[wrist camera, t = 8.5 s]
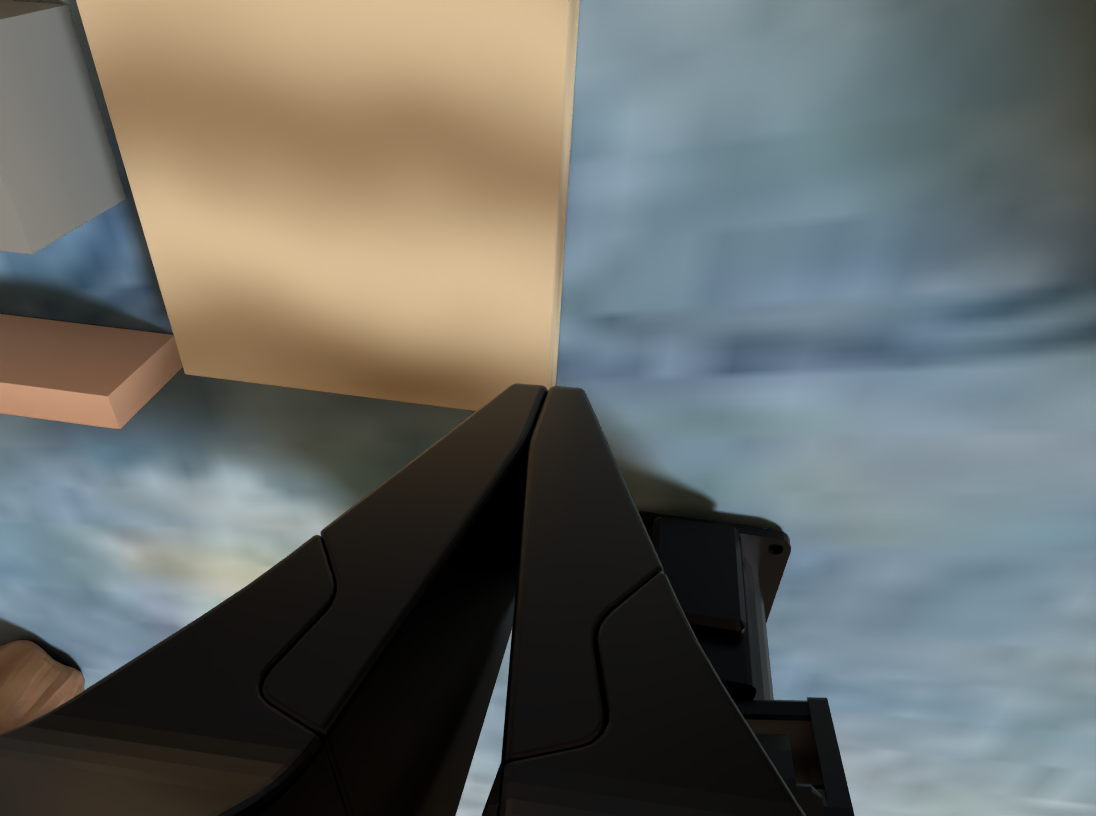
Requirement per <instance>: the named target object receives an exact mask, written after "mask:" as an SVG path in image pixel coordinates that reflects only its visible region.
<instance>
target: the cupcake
mask: <svg viewBox="0 0 1096 816" xmlns="http://www.w3.org/2000/svg"><path fill="white" fill-rule="evenodd" d="M84 684H85V679H84V677H83V675H82V673H81V672H80V671H78V670H77V669H75V668H73V667H69V666H66V665H63V664H61V663H59V662H57V661H55V660H53V659H52V658H51V657H50V656H49V655H48V654H47V653H46V652H45V651H44V650H43V649H42V648H41V647H39V646H38V645H37V644H35V643H33V642H31V641H28V640H16V641H12V642H10V643H8V644H5V645H2V646H0V734H2V733H5V732H7V731H10V730H12V729H15V728H17V727H20V726H22V725H24V724H26V723H28V722H30V721H32V720H34V719H36V718H38V717H40V716H42V715H44V714H46V713H48V712H49V711H51V710H53V709H55V708H56V707H58V706H60V705H61V704H63V703H65V702H66V701H68V700H70V699H72V698H73V697H75V696H76V695H78V694H79V693H81V692H83V691H84Z"/></svg>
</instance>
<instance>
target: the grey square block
mask: <svg viewBox="0 0 1096 816" xmlns="http://www.w3.org/2000/svg"><path fill="white" fill-rule="evenodd" d="M125 199H126V196H125V193H124V190H123V186H122V183H121V180H120V176H119V173H118V170H117V166H116V163H115V160H114V156H113V153H112V150H111V146H110V143H109V140H108V136H107V133H106V130H105V126H104V123H103V120H102V116H101V113H100V110H99V106H98V103H97V100H96V96H95V93H94V89H93V86H92V83H91V79H90V76H89V73H88V69H87V66H86V63H85V59H84V56H83V53H82V49H81V46H80V43H79V39H78V36H77V33H76V29H75V26H74V23H73V19H72V16H71V13H70V9H69V6H68V4H55V3H42V2H29V1H16V0H0V251H7V252H16V253H25V254H34V253H35V252H37V251H39V250H40V249H42V248H44V247H46V246H47V245H49V244H51V243H52V242H54V241H56V240H57V239H59V238H61V237H62V236H64V235H66V234H67V233H69V232H71V231H73V230H74V229H76V228H78V227H79V226H81V225H83V224H84V223H86V222H88V221H89V220H91V219H93V218H95V217H96V216H98V215H100V214H101V213H103V212H105V211H106V210H108V209H110V208H111V207H113V206H115V205H117V204H118V203H120V202H122V201H123V200H125Z"/></svg>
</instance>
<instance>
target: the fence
mask: <svg viewBox="0 0 1096 816" xmlns="http://www.w3.org/2000/svg"><path fill="white" fill-rule="evenodd" d="M182 367H183V365H182V362H181V358H180V355H179V352H178V348H177V345H176V341H175V338H174V335H170V334H162V333H153V332H145V331H137V330H129V329H121V328H112V327H104V326H96V325H88V324H80V323H71V322H63V321H55V320H47V319H38V318H30V317H22V316H14V315H6V314H0V413H2V414H10V415H17V416H25V417H32V418H39V419H47V420H54V421H62V422H69V423H76V424H84V425H91V426H99V427H106V428H113V429H121V428H122V427H123V426H124V425H125V424H126V423H127V422H128V421H129V420H130V419H131V418H132V417H133V416H134V415H135V414H136V413H137V412H138V411H139V410H140V409H141V408H142V407H143V406H144V405H145V404H146V403H147V402H148V401H149V400H150V399H151V398H152V397H153V396H154V395H155V394H156V393H157V392H158V391H159V390H160V389H161V388H162V387H163V386H164V385H165V384H166V383H167V382H168V381H169V380H170V379H171V378H172V377H173V376H174V375H175V374H176V373H177V372H178V371H179V370H180V369H181V368H182Z"/></svg>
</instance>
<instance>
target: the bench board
mask: <svg viewBox="0 0 1096 816" xmlns="http://www.w3.org/2000/svg"><path fill="white" fill-rule="evenodd" d="M76 2H77V5H78V9H79V12H80V15H81V19H82V22H83V26H84V29H85V33H86V36H87V39H88V43H89V46H90V50H91V53H92V57H93V60H94V63H95V67H96V70H97V74H98V77H99V81H100V84H101V87H102V91H103V94H104V98H105V101H106V105H107V108H108V111H109V115H110V118H111V122H112V125H113V129H114V132H115V135H116V139H117V142H118V146H119V149H120V153H121V156H122V159H123V163H124V166H125V170H126V173H127V177H128V180H129V183H130V187H131V190H132V194H133V197H134V201H135V204H136V207H137V211H138V214H139V218H140V221H141V225H142V228H143V231H144V235H145V238H146V242H147V245H148V249H149V252H150V256H151V259H152V262H153V266H154V269H155V273H156V276H157V280H158V283H159V286H160V290H161V293H162V297H163V300H164V304H165V307H166V310H167V314H168V317H169V321H170V324H171V328H172V331H173V334H174V338H175V341H176V345H177V348H178V352H179V355H180V358H181V362H182V365H183V369H184V372H185V374H188V375H196V376H203V377H211V378H219V379H227V380H235V381H243V382H251V383H259V384H267V385H274V386H282V387H290V388H298V389H306V390H314V391H322V392H330V393H338V394H346V395H353V396H361V397H369V398H377V399H385V400H393V401H401V402H409V403H417V404H424V405H432V406H440V407H448V408H456V409H464V410H472V411H478V410H479V409H480V408H481V407H483V406H484V405H485V404H487V403H488V402H489V401H491V400H492V399H493V398H494V397H496V396H497V395H498V394H500V393H501V392H502V391H504V390H505V389H506V388H507V387H509V386H510V385H512V384H515V383H521V384H533V385H543V386H545V387H546V388H547V390H549V388H551V387H553V386H555V384H556V375H557V359H558V343H559V327H560V310H561V294H562V278H563V262H564V245H565V229H566V213H567V197H568V180H569V164H570V148H571V132H572V115H573V99H574V83H575V67H576V50H577V34H578V18H579V2H580V0H76Z"/></svg>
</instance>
